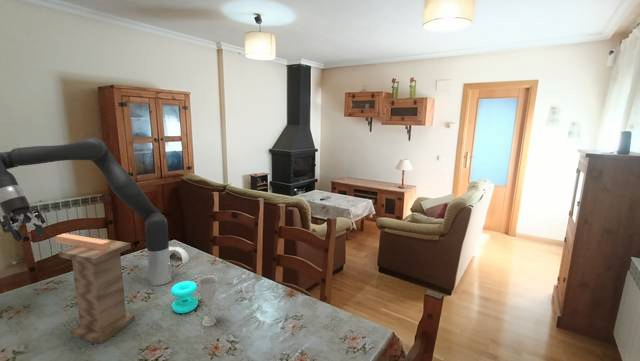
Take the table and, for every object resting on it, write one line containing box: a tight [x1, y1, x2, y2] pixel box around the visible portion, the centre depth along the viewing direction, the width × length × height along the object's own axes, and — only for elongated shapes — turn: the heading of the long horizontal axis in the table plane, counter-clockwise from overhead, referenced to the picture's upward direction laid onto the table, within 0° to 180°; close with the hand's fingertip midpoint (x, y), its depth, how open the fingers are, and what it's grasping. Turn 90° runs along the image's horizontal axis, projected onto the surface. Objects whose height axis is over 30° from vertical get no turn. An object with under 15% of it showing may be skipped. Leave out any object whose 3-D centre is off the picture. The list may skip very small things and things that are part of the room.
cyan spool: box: [170, 280, 199, 314], centre depth 128 cm, size 10×10×10 cm
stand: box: [57, 237, 136, 345], centre depth 112 cm, size 16×14×32 cm
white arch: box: [169, 246, 190, 264], centre depth 174 cm, size 24×12×7 cm, turn 70°
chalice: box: [197, 274, 218, 327], centre depth 119 cm, size 7×7×18 cm
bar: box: [55, 232, 110, 251], centre depth 111 cm, size 22×3×2 cm, turn 74°
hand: (31, 237), depth 117 cm, fingers open, 8 cm apart
